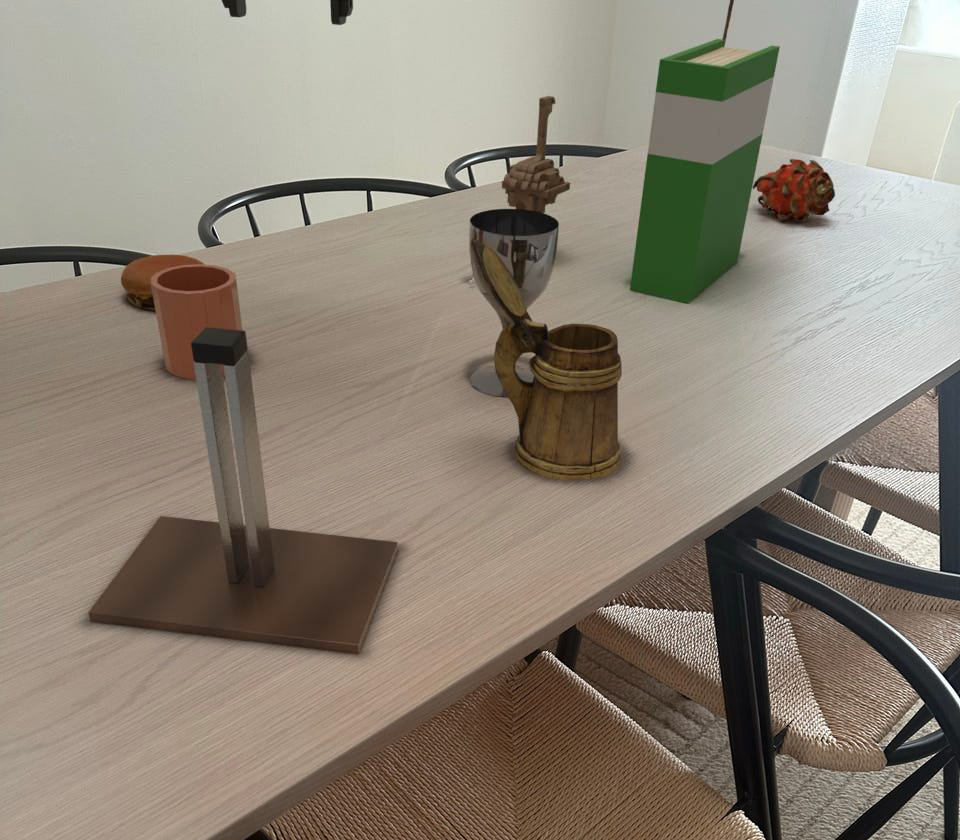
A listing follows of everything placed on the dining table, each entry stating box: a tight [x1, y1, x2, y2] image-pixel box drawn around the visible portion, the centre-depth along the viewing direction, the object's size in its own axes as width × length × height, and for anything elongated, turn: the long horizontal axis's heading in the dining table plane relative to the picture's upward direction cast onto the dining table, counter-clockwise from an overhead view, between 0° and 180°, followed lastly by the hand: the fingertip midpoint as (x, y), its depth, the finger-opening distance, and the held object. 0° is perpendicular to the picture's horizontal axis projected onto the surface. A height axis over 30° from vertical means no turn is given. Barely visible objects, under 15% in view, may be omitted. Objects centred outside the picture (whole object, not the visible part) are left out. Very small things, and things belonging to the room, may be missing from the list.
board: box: [87, 515, 398, 655], centre depth 68 cm, size 18×12×2 cm, turn 82°
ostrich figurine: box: [467, 95, 571, 287], centre depth 116 cm, size 17×7×18 cm, turn 145°
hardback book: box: [629, 38, 781, 304], centre depth 115 cm, size 18×7×24 cm, turn 150°
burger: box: [120, 254, 206, 311], centre depth 108 cm, size 10×9×5 cm
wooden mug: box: [469, 239, 623, 481], centre depth 79 cm, size 9×14×18 cm, turn 81°
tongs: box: [191, 327, 274, 587], centre depth 63 cm, size 2×2×17 cm
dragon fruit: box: [752, 158, 836, 223], centre depth 140 cm, size 8×8×12 cm
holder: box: [151, 263, 244, 381], centre depth 94 cm, size 8×8×9 cm
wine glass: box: [468, 208, 560, 398], centre depth 92 cm, size 8×8×15 cm
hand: (288, 20), depth 81 cm, fingers open, 8 cm apart
